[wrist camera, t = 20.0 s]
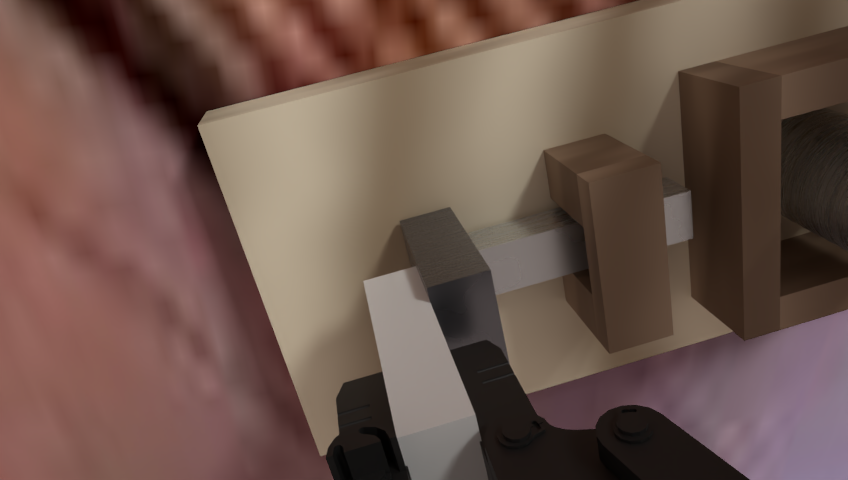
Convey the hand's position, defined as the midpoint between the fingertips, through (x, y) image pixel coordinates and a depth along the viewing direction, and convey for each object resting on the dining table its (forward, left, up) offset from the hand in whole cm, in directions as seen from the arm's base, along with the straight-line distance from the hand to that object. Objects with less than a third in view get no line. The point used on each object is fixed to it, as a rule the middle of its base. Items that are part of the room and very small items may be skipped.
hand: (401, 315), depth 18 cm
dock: (-8, 0, -5) cm, 9 cm away
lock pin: (-5, 0, -3) cm, 6 cm away
